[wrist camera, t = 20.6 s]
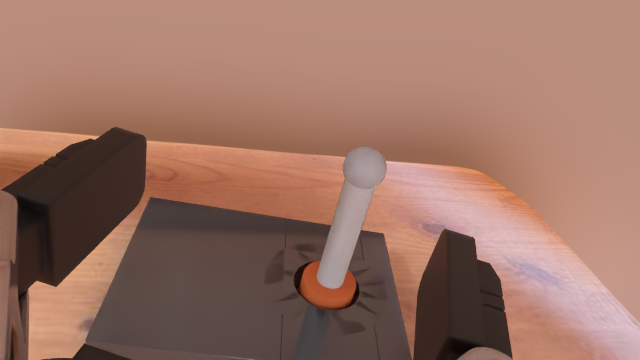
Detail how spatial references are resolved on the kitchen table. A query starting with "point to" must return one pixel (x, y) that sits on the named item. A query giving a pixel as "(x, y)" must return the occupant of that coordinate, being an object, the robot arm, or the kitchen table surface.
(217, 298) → the dark grey slab
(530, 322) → the kitchen table surface
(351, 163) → the stopper
